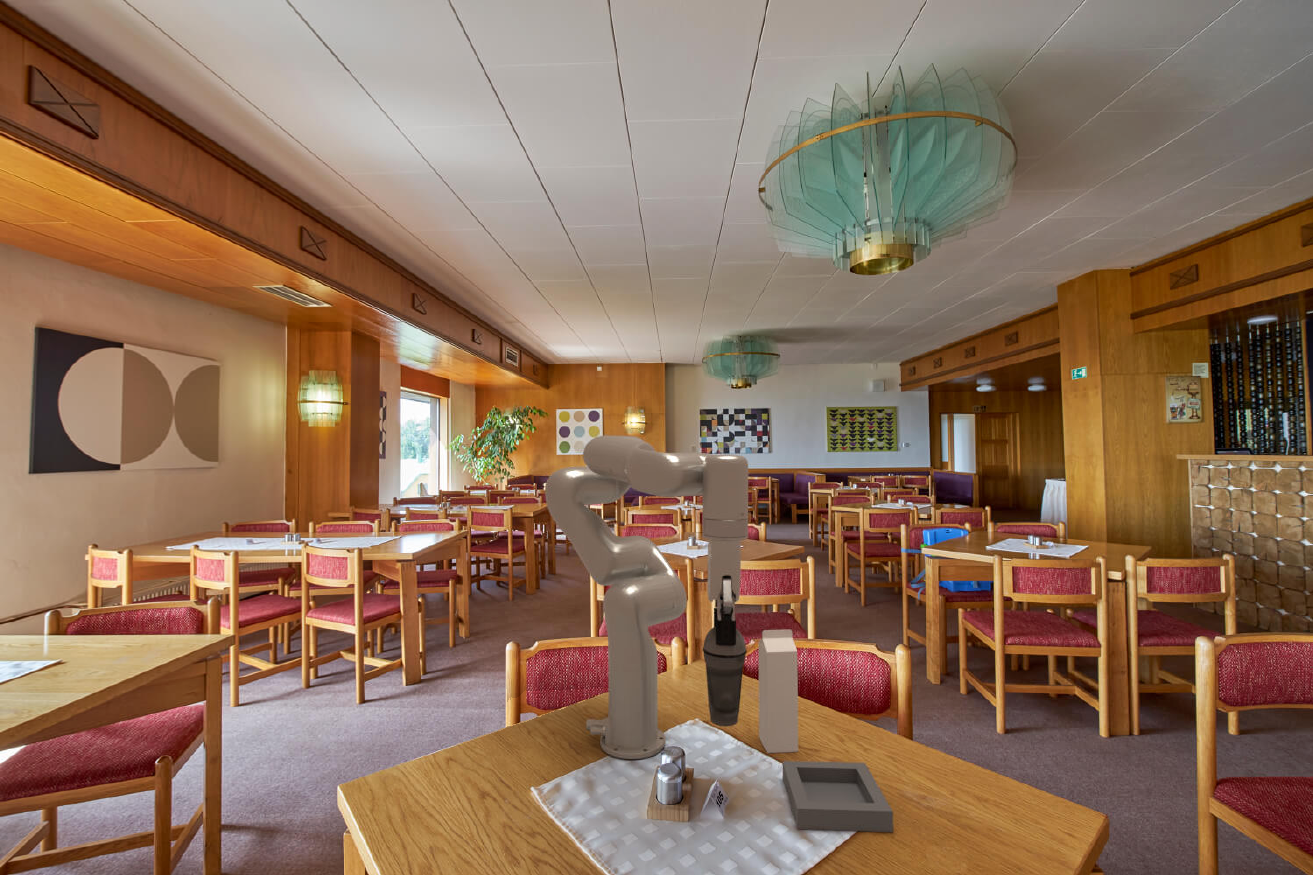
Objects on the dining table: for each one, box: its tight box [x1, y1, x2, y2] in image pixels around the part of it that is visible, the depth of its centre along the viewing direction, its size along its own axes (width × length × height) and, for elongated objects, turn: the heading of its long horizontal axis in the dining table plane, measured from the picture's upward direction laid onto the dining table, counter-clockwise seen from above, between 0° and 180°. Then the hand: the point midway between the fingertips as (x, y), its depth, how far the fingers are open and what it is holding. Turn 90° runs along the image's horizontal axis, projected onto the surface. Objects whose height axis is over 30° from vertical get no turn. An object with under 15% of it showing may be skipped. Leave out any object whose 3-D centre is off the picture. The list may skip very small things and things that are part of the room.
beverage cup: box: [702, 626, 747, 727], centre depth 99 cm, size 7×7×20 cm
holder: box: [782, 760, 894, 833], centre depth 96 cm, size 14×14×3 cm
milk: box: [758, 629, 799, 754], centre depth 115 cm, size 6×6×22 cm
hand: (724, 637), depth 99 cm, fingers closed on beverage cup, 6 cm apart
